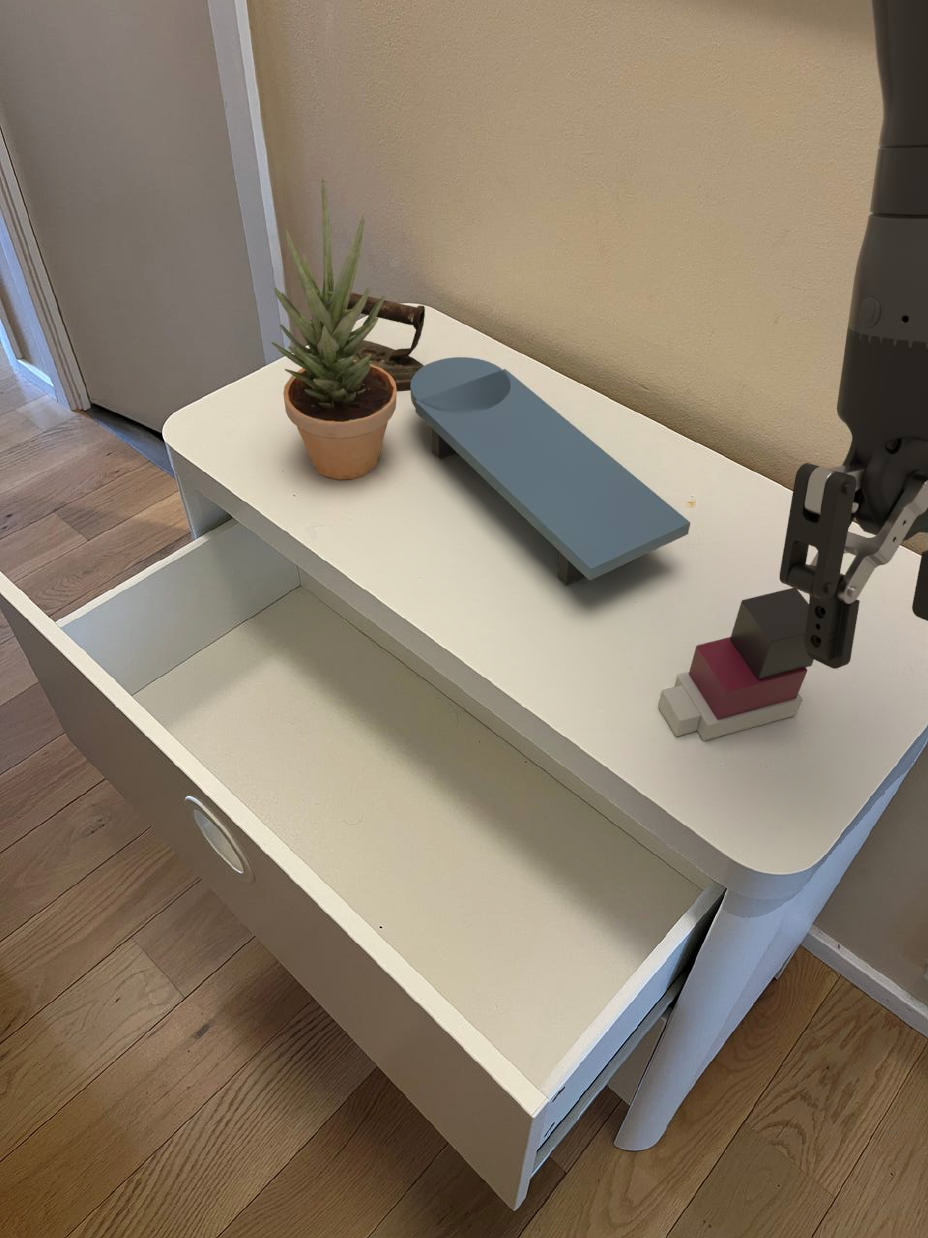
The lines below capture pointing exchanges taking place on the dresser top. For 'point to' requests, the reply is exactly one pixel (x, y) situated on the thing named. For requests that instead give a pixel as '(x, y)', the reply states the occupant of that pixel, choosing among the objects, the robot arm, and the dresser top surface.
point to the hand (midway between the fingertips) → (881, 639)
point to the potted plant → (335, 368)
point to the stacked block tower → (744, 671)
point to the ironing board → (543, 467)
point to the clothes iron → (389, 358)
